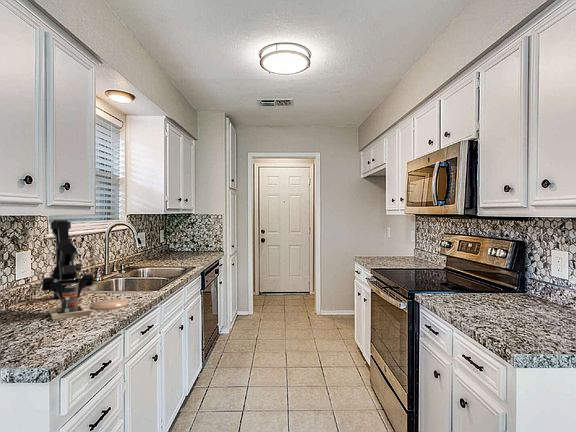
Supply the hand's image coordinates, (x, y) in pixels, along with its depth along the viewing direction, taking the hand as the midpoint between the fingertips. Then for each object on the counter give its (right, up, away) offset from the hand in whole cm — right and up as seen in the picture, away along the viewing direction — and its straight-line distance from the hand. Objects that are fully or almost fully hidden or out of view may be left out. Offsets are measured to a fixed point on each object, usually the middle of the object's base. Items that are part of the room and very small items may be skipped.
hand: (70, 298), depth 149 cm
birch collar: (-1, -7, +1) cm, 7 cm away
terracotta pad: (+9, -7, +15) cm, 19 cm away
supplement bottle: (-1, -7, +1) cm, 7 cm away
